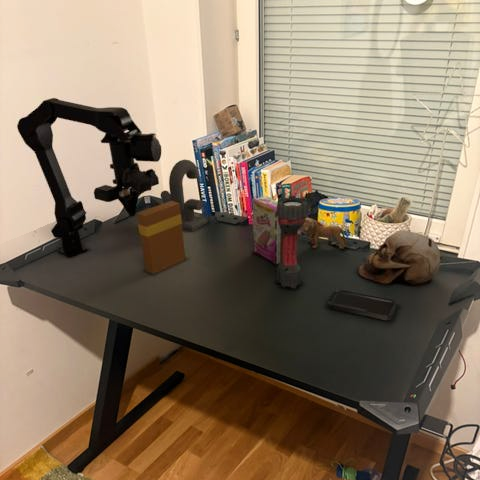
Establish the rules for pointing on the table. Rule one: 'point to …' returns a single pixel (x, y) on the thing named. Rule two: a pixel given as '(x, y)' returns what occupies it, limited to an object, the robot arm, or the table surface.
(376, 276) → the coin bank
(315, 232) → the lion figurine
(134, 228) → the table surface
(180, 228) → the brown banded box
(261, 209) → the candy bar box
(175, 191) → the dark grey curved stand
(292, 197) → the flashlight
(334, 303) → the phone
